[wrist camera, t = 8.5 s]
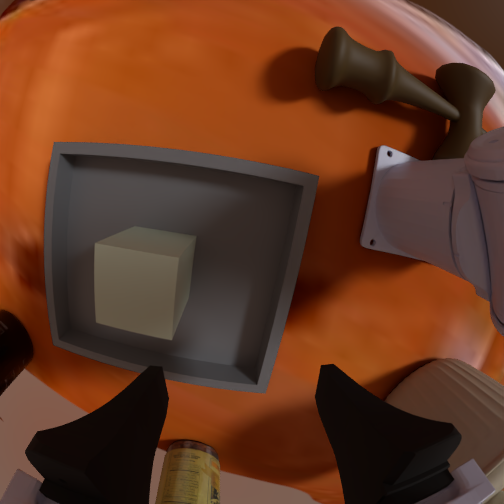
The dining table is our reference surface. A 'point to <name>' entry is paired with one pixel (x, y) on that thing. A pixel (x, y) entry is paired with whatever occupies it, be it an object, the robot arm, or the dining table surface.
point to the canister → (460, 413)
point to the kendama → (408, 87)
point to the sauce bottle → (189, 475)
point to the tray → (204, 263)
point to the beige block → (143, 280)
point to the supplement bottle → (12, 349)
